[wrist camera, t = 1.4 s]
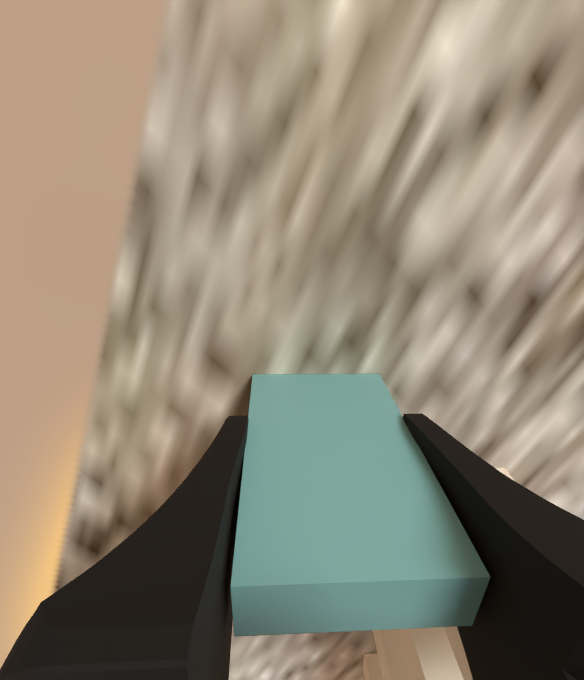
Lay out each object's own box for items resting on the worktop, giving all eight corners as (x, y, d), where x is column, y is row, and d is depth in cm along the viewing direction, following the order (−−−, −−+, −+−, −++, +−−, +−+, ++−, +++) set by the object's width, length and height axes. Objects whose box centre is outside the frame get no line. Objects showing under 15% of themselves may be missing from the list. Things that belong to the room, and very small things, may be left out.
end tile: (374, 407, 15) (472, 626, 8) (253, 408, 15) (234, 636, 7) (379, 373, 14) (490, 576, 7) (252, 374, 14) (230, 587, 7)
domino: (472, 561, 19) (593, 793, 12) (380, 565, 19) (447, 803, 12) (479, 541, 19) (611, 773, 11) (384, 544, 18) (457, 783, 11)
